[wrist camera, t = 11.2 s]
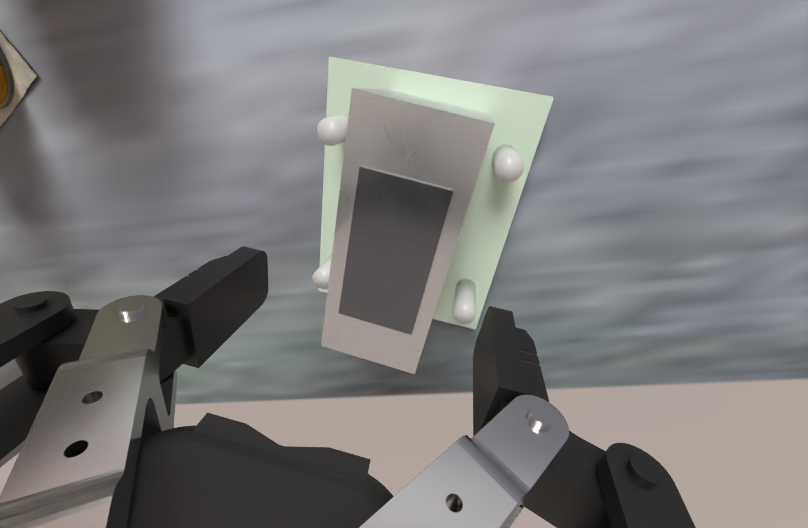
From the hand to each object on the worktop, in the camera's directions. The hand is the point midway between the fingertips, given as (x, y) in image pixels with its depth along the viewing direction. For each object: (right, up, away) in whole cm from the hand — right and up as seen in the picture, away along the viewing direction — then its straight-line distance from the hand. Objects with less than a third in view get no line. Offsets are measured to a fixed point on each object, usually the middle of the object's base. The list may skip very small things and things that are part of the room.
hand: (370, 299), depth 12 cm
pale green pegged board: (+2, +5, +9) cm, 10 cm away
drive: (+2, +4, +8) cm, 9 cm away
